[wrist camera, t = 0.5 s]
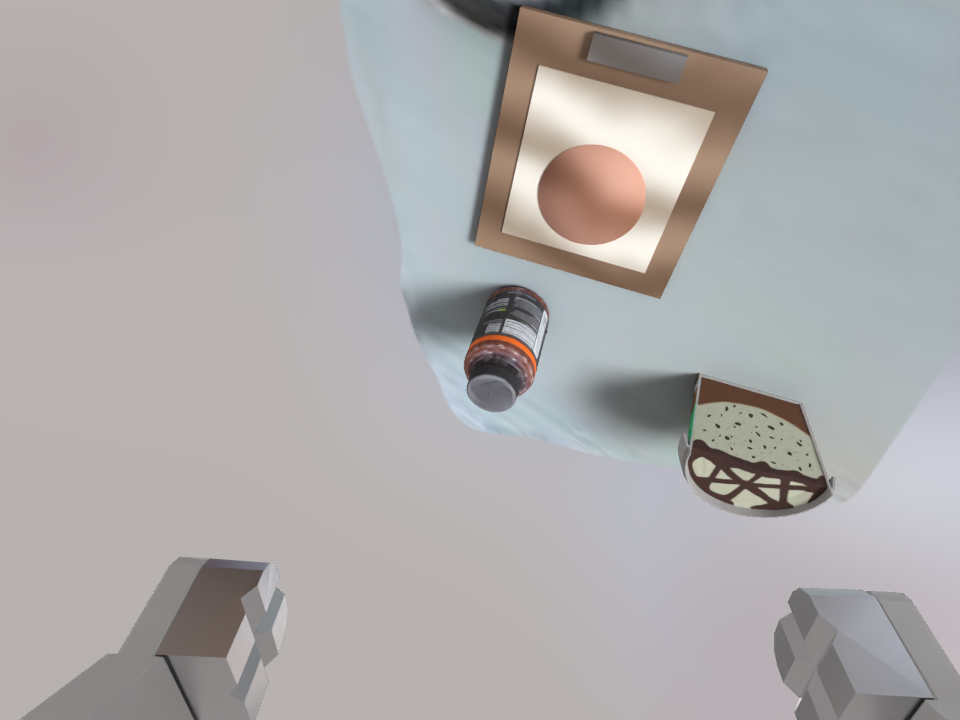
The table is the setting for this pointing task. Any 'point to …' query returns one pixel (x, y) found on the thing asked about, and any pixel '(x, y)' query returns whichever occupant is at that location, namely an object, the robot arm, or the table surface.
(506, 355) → the supplement bottle
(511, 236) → the clipboard
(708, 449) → the food container
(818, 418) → the table surface
